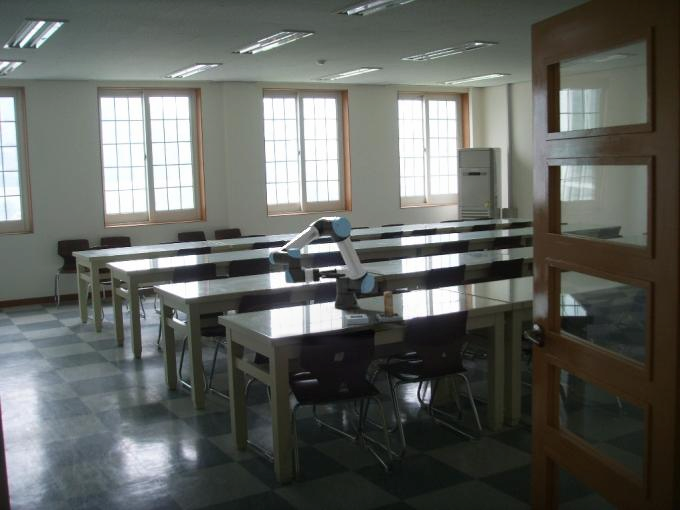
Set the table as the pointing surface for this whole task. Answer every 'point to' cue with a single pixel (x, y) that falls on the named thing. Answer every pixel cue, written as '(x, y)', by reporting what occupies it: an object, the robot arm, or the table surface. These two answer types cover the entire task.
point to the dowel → (388, 304)
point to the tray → (389, 318)
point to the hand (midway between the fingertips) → (349, 273)
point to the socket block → (356, 319)
